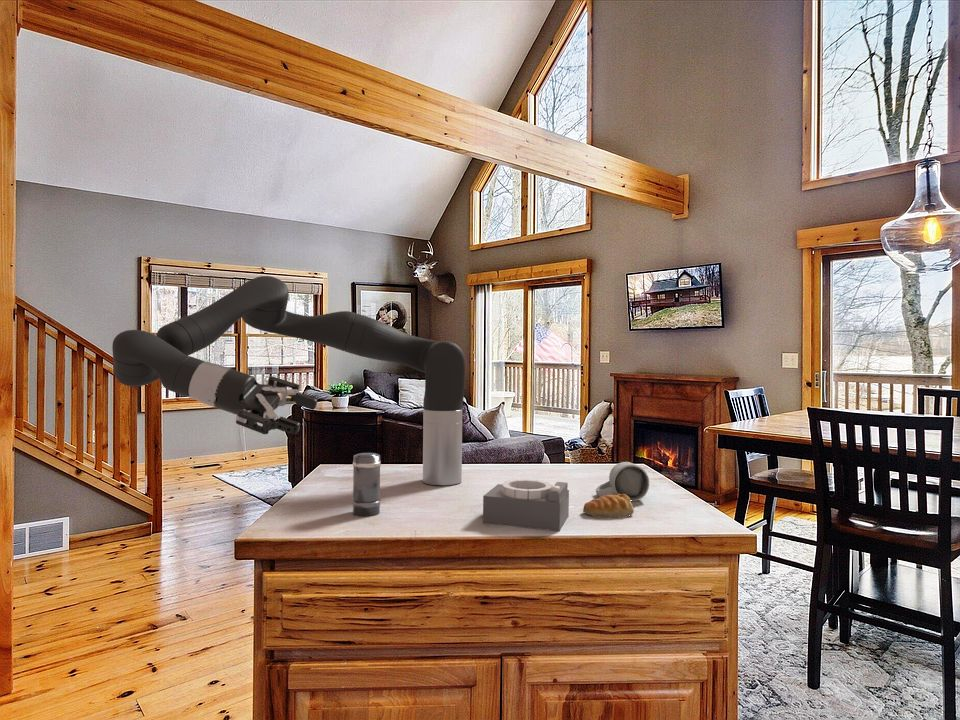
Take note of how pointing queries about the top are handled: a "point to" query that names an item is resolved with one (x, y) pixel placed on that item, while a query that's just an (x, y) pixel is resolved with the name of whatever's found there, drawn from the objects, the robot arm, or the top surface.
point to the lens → (366, 484)
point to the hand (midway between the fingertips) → (307, 416)
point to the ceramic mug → (626, 481)
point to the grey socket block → (527, 504)
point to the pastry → (609, 506)
